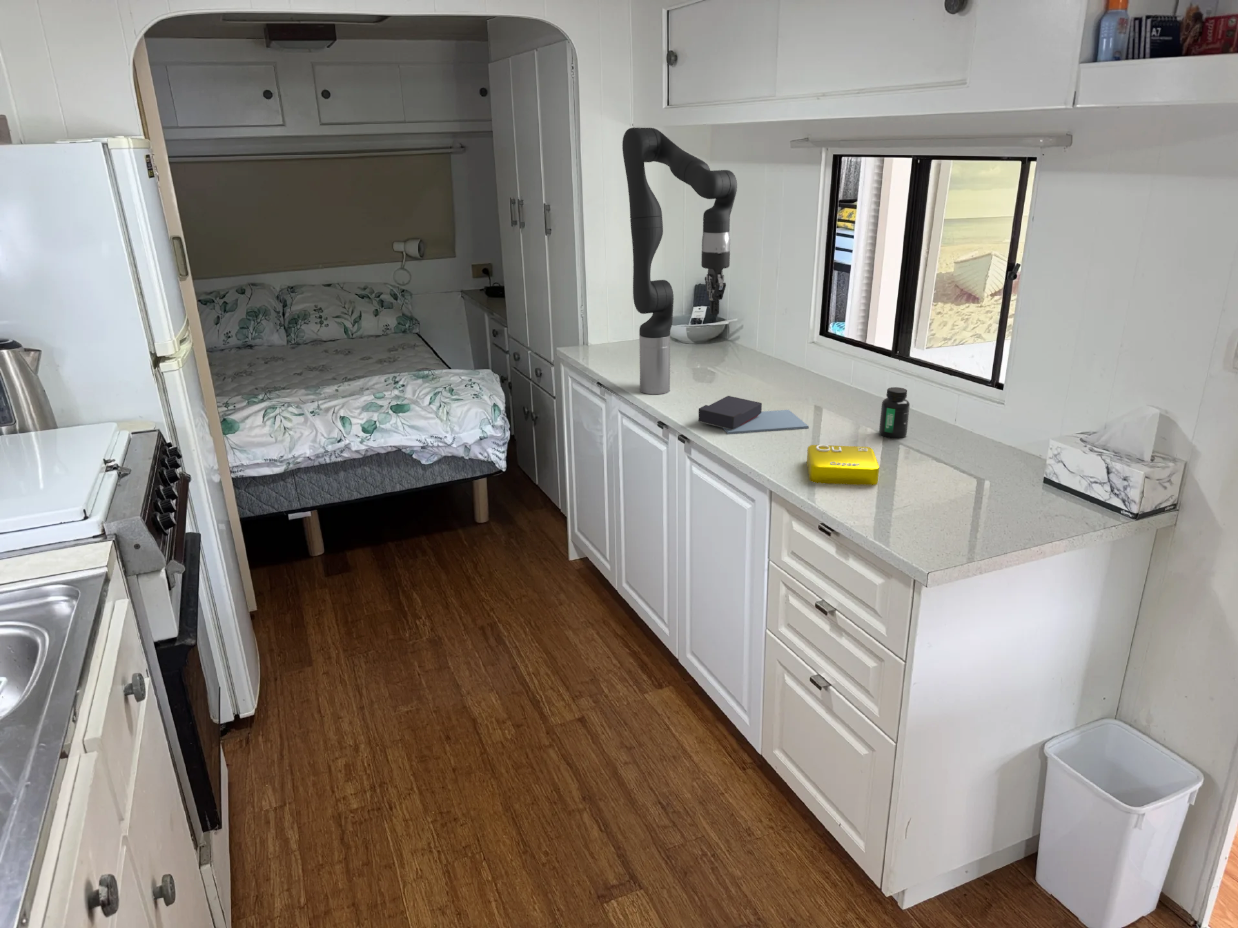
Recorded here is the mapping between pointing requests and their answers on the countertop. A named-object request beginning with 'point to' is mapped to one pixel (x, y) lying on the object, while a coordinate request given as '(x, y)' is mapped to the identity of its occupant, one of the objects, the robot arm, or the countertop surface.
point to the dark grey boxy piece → (729, 412)
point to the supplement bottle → (894, 414)
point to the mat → (770, 422)
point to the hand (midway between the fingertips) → (714, 314)
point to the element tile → (842, 465)
